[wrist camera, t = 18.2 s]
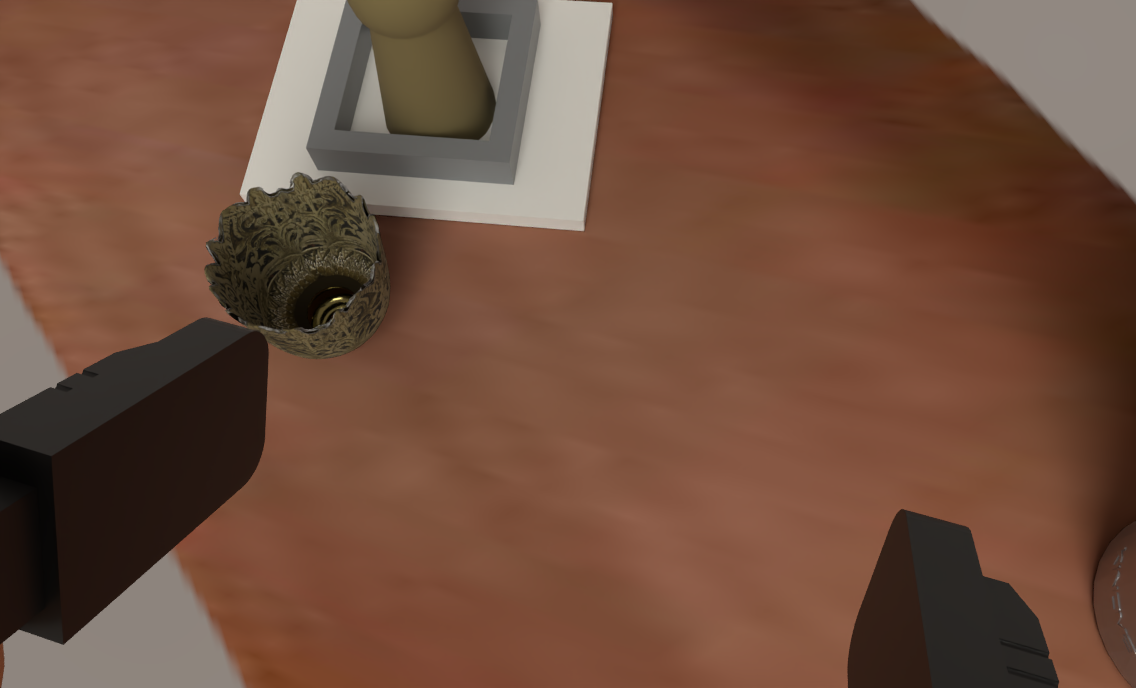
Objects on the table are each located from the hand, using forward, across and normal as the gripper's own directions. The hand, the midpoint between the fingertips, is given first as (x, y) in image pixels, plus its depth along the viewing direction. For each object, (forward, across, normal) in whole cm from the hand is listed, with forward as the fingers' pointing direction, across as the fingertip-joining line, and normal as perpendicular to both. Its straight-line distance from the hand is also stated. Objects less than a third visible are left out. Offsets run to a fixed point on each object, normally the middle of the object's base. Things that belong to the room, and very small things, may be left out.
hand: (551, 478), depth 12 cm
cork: (+38, +16, +4) cm, 42 cm away
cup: (+30, +17, +14) cm, 37 cm away
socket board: (+40, +17, +4) cm, 43 cm away
